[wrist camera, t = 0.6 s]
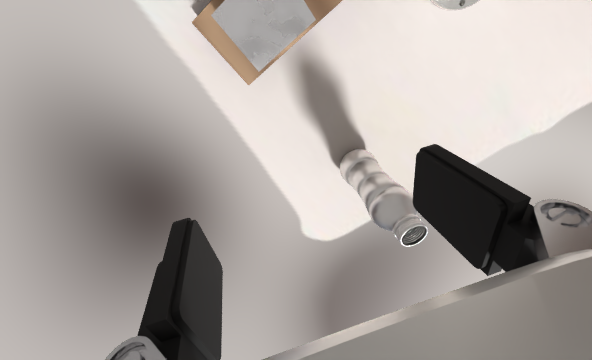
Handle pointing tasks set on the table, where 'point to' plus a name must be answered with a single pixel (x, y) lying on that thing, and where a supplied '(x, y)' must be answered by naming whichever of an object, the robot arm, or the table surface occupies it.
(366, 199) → the plastic bottle
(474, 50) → the table surface
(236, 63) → the balance beam
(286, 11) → the block
